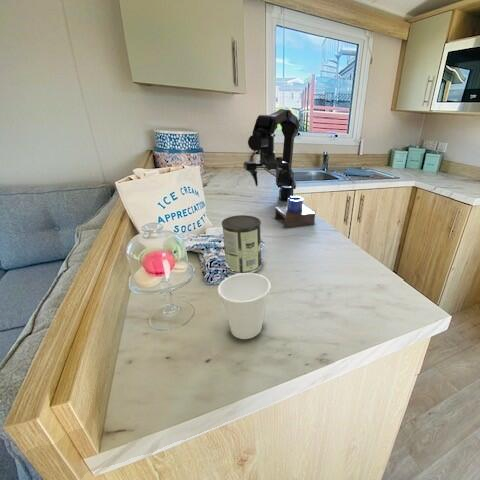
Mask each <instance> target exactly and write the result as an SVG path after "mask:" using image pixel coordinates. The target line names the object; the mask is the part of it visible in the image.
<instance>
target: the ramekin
mask: <svg viewBox="0 0 480 480" xmlns="http://www.w3.org/2000/svg"><path fill="white" fill-rule="evenodd" d="M286 203H287V204H286V206H287V210H288V211H289V212H294V213H298V212H302V211H303V205H304V198H303V197H301V196H297V195H296V196H294V195H293V196H292V197H288V199H287V201H286Z"/></svg>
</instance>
